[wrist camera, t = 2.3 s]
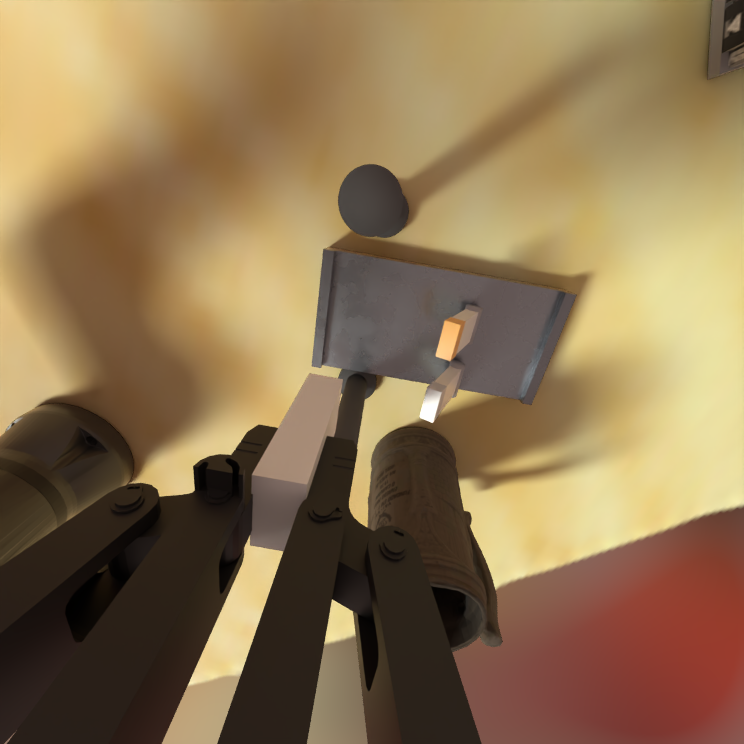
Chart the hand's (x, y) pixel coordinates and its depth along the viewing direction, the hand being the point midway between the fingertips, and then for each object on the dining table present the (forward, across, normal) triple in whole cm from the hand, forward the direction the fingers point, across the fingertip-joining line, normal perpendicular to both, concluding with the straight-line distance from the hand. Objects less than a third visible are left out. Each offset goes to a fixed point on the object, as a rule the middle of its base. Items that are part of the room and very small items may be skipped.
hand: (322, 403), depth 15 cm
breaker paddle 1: (+20, +11, 0) cm, 22 cm away
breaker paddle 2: (+20, +11, -6) cm, 23 cm away
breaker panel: (+23, +8, -2) cm, 24 cm away
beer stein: (+23, +12, -21) cm, 33 cm away
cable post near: (+23, +1, +8) cm, 24 cm away
